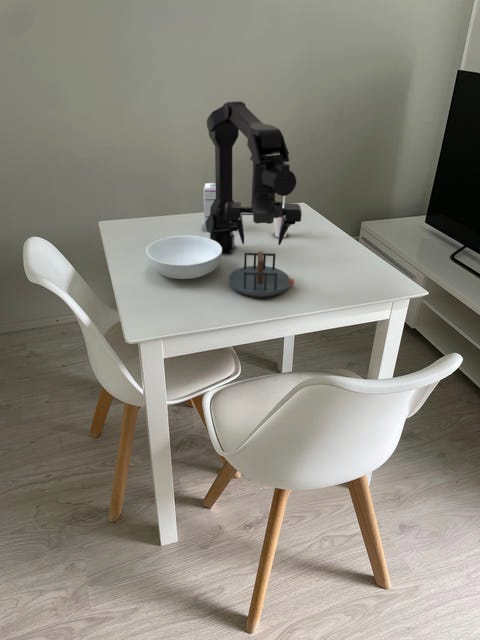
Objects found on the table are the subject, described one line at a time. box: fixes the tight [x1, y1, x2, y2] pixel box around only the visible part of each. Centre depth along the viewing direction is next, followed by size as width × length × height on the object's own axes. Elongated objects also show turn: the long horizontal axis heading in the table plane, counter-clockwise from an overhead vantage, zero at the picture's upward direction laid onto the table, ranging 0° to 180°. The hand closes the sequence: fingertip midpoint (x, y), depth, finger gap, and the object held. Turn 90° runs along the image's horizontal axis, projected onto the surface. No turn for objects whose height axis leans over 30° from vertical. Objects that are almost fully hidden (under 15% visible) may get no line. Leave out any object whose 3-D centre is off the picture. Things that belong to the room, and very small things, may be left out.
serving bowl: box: [145, 234, 223, 280], centre depth 144 cm, size 21×21×7 cm
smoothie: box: [273, 196, 289, 239], centre depth 166 cm, size 6×6×14 cm
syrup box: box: [202, 182, 216, 232], centre depth 171 cm, size 6×6×14 cm
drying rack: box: [228, 250, 295, 296], centre depth 136 cm, size 17×16×7 cm
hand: (261, 243), depth 133 cm, fingers open, 9 cm apart
